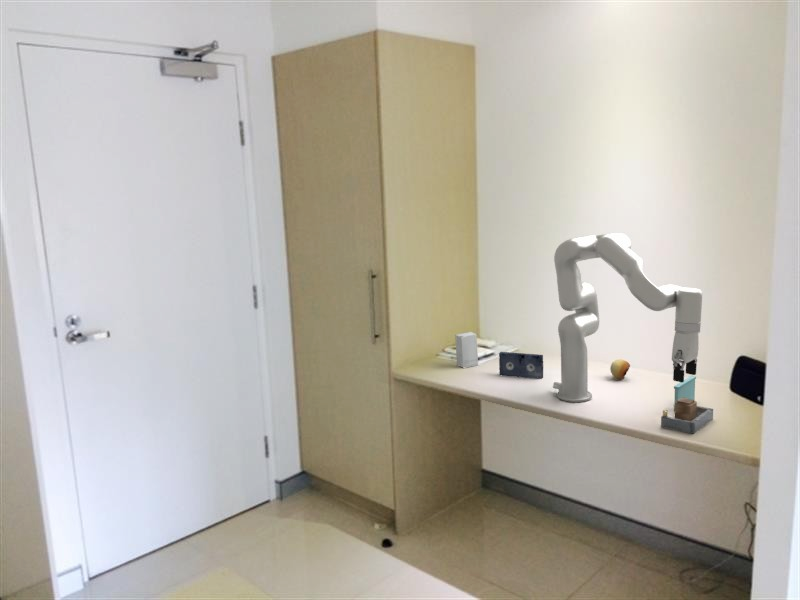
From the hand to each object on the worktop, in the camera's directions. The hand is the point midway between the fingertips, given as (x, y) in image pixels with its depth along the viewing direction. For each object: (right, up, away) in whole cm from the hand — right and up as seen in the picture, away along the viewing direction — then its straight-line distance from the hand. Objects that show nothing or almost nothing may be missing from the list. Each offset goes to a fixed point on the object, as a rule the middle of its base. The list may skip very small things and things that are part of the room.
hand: (684, 377), depth 209 cm
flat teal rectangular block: (+8, -12, +17) cm, 23 cm away
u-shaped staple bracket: (+2, -15, +2) cm, 15 cm away
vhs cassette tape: (-42, -7, +61) cm, 74 cm away
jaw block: (+1, -15, +2) cm, 15 cm away
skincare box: (-62, -5, +81) cm, 102 cm away
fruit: (-4, -7, +51) cm, 51 cm away
